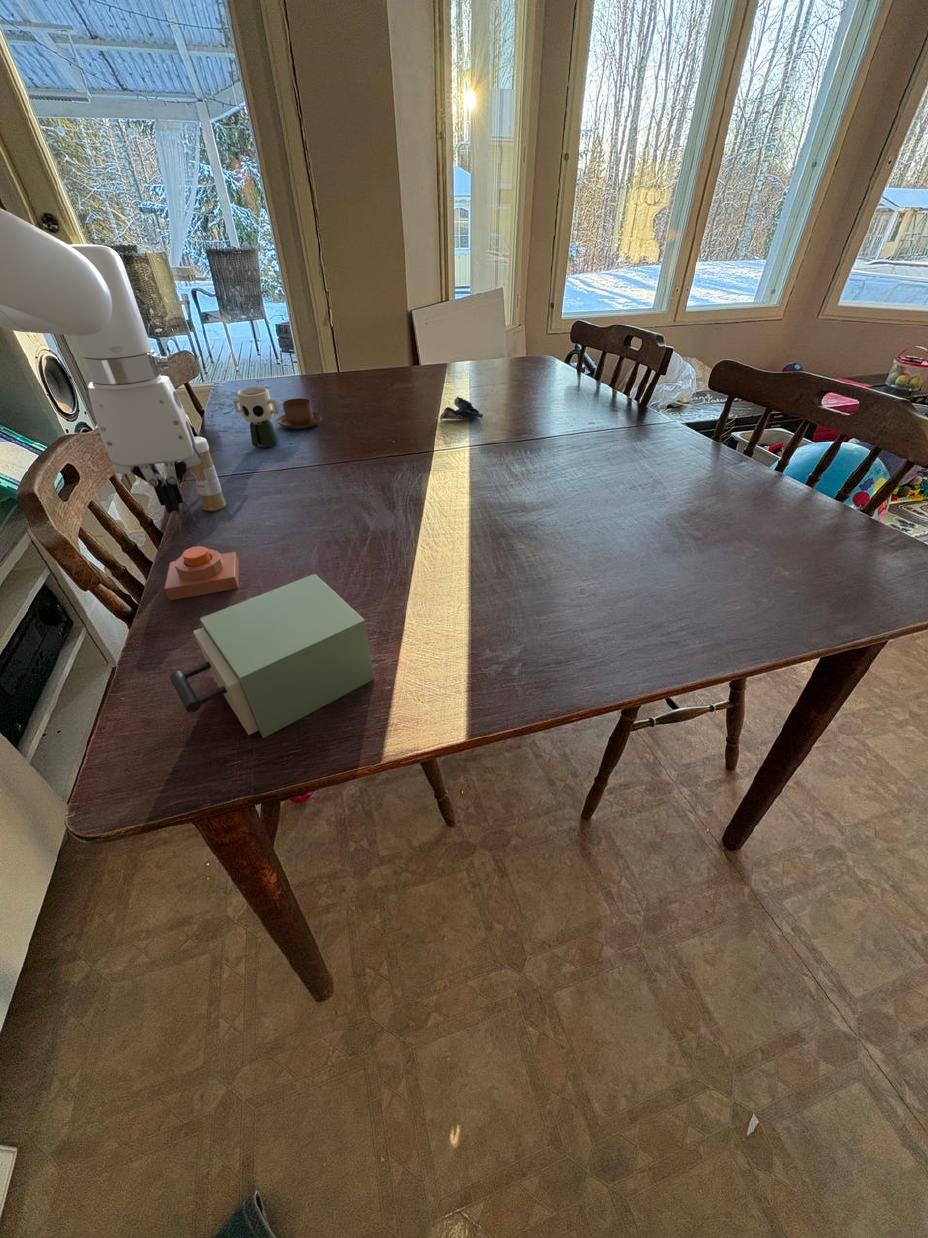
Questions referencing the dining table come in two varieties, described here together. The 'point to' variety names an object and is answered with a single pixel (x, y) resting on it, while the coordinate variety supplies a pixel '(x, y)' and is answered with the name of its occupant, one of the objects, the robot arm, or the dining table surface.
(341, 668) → the fryer
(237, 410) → the character mug
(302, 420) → the cup and saucer
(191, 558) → the button
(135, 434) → the robot arm
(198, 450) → the sprinkles bottle
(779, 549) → the dining table surface
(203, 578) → the control block
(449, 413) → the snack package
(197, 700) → the fryer drawer
